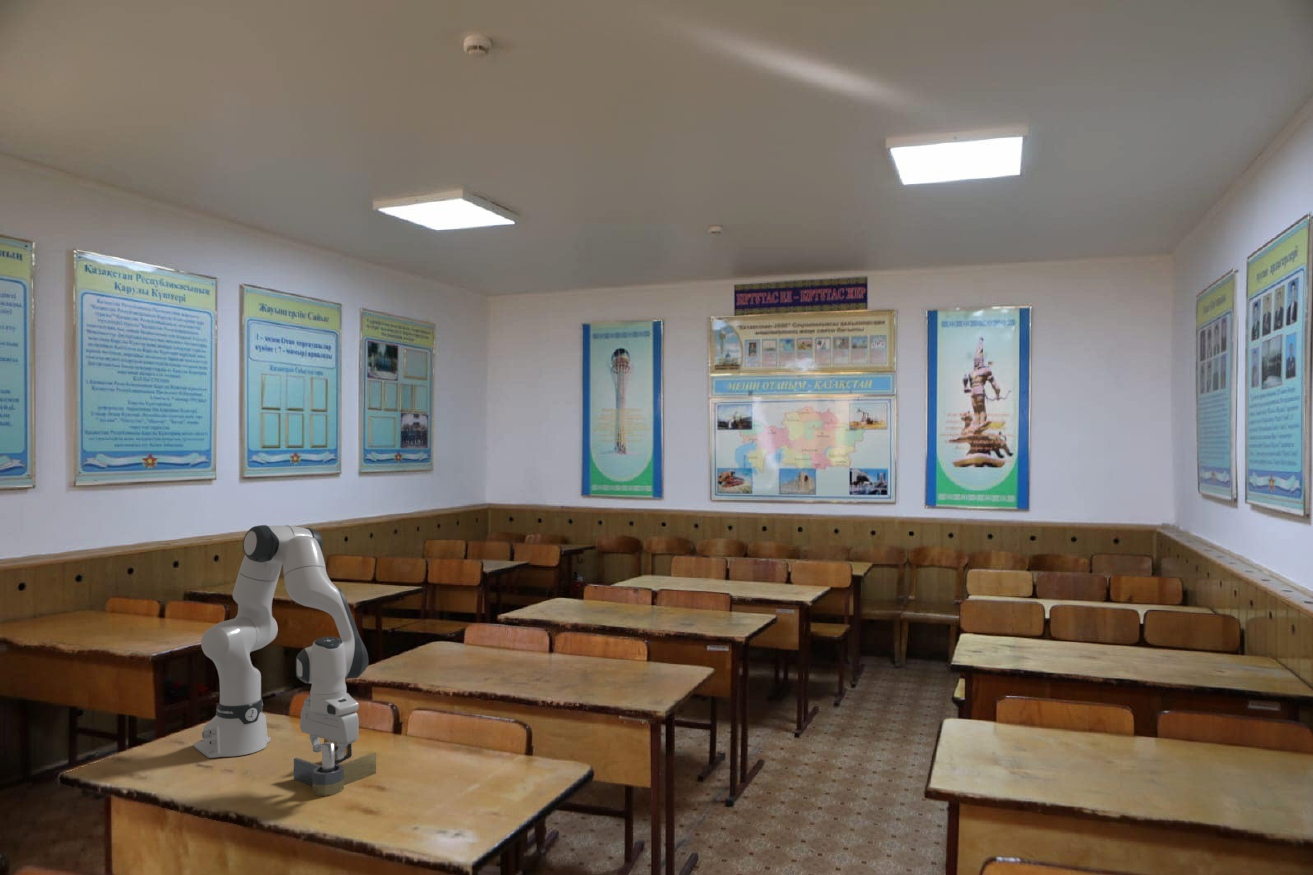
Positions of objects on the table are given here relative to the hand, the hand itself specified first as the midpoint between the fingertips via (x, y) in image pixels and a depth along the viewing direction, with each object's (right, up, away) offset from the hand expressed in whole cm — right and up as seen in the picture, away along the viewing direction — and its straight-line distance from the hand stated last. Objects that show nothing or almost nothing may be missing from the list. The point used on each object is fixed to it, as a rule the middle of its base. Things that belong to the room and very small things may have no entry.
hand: (328, 754), depth 223 cm
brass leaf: (+3, -9, +4) cm, 11 cm away
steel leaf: (-4, -9, +3) cm, 11 cm away
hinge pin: (0, -9, 0) cm, 9 cm away
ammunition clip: (-5, -10, +20) cm, 23 cm away
